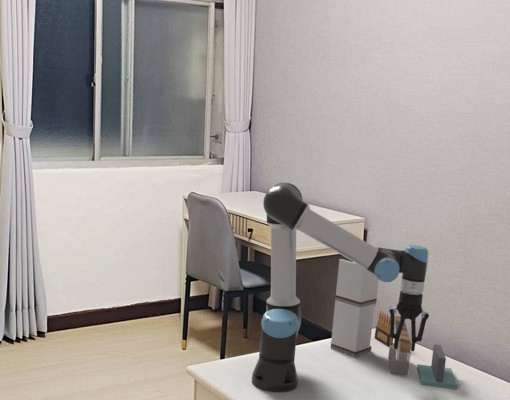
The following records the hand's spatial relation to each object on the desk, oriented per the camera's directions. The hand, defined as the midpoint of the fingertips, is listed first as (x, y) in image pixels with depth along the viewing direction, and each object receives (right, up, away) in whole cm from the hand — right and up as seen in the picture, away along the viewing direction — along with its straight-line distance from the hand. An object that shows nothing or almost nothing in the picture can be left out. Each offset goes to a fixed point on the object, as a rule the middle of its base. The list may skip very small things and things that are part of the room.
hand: (402, 358), depth 237 cm
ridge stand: (+14, -9, +9) cm, 19 cm away
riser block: (+2, -7, +18) cm, 19 cm away
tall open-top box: (-13, -4, +32) cm, 35 cm away
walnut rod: (+2, +5, +10) cm, 12 cm away
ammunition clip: (+1, -4, +44) cm, 44 cm away
